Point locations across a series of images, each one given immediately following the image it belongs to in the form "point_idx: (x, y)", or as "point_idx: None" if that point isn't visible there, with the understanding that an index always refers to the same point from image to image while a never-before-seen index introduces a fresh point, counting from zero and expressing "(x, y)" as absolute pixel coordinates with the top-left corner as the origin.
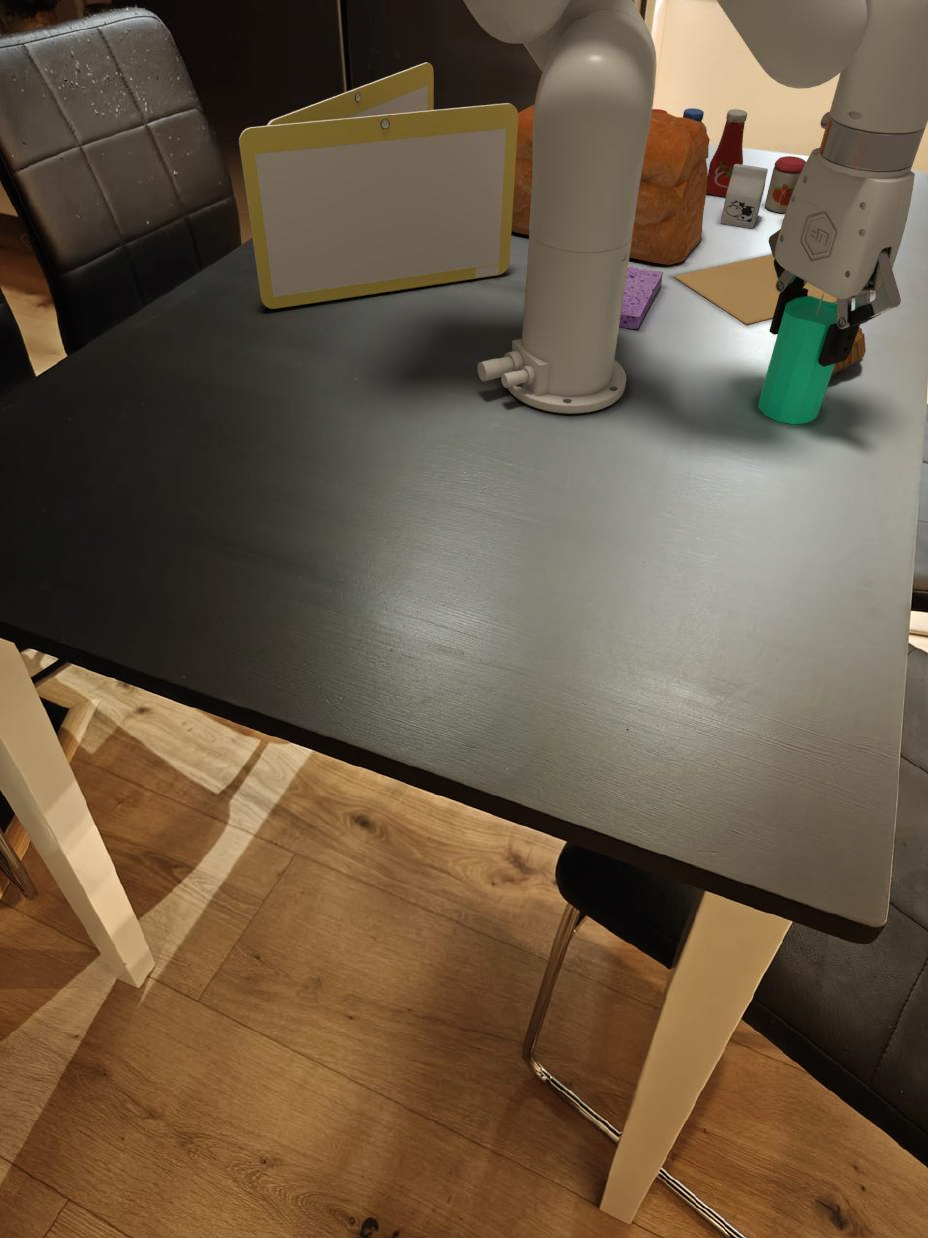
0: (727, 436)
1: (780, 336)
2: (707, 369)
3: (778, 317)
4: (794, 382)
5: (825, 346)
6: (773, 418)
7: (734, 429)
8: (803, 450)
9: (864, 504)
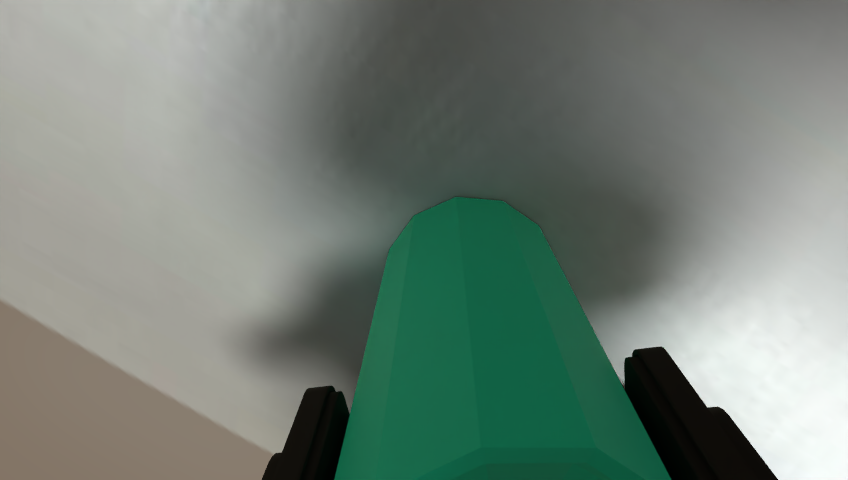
0: (380, 11)
1: (535, 340)
2: (767, 163)
3: (667, 413)
4: (397, 287)
5: (298, 452)
6: (429, 208)
7: (412, 59)
8: (265, 204)
9: (14, 217)
